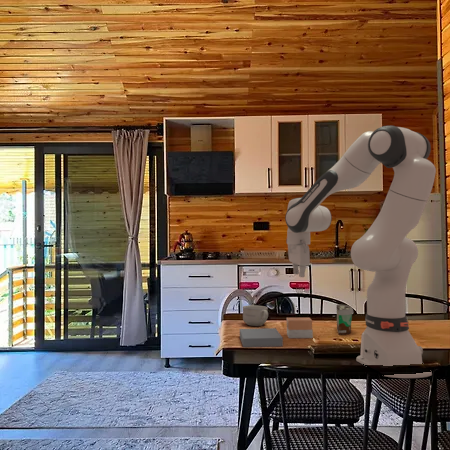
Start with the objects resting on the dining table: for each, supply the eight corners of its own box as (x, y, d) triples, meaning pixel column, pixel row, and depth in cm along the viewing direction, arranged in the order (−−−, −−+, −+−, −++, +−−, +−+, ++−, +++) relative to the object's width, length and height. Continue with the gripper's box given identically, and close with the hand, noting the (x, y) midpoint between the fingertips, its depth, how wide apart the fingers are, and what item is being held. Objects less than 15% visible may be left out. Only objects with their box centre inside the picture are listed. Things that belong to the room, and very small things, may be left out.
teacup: (239, 323, 178) (238, 305, 178) (261, 321, 182) (261, 303, 182) (252, 330, 165) (251, 310, 165) (275, 328, 169) (275, 308, 169)
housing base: (312, 338, 152) (312, 329, 152) (289, 339, 152) (288, 329, 152) (309, 335, 157) (309, 326, 157) (286, 335, 157) (286, 326, 157)
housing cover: (312, 329, 152) (312, 320, 152) (288, 329, 152) (288, 320, 152) (309, 326, 157) (309, 317, 157) (286, 326, 157) (286, 317, 157)
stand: (282, 346, 141) (282, 337, 141) (243, 347, 141) (243, 338, 141) (275, 336, 155) (275, 328, 155) (239, 336, 155) (239, 329, 155)
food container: (355, 336, 154) (355, 310, 154) (339, 335, 155) (338, 309, 156) (352, 328, 166) (351, 304, 166) (336, 328, 168) (336, 304, 168)
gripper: (313, 240, 145) (314, 278, 145) (300, 239, 166) (300, 272, 166) (296, 240, 145) (296, 279, 145) (285, 239, 165) (285, 273, 165)
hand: (298, 275), depth 155 cm, fingers open, 8 cm apart
